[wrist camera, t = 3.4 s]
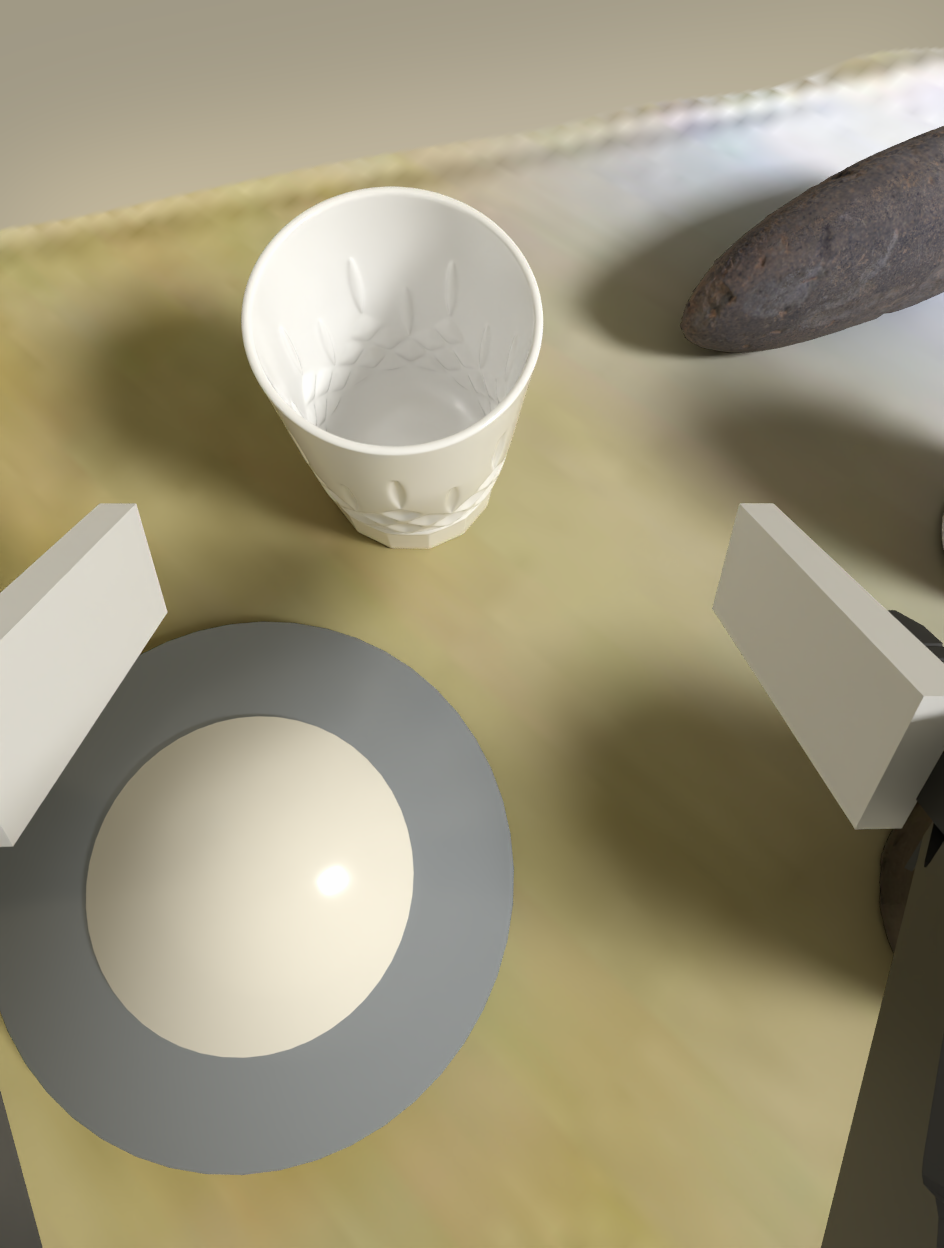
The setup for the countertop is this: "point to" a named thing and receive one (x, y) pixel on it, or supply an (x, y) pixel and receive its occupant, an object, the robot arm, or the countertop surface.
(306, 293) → the white cup
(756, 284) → the perforated stone tool
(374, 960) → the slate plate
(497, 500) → the countertop surface
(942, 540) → the supplement bottle
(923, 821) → the pillar candle
